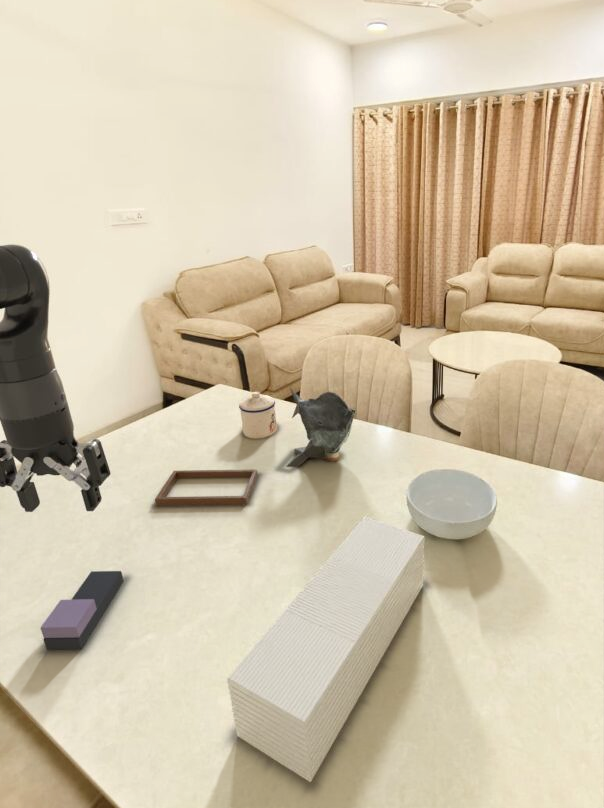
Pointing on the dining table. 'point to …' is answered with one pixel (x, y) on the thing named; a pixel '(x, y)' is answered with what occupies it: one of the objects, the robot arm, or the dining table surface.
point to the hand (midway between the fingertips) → (63, 508)
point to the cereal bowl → (451, 503)
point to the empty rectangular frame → (206, 500)
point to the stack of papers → (326, 646)
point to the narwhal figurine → (322, 426)
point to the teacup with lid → (258, 416)
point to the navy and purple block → (81, 612)
